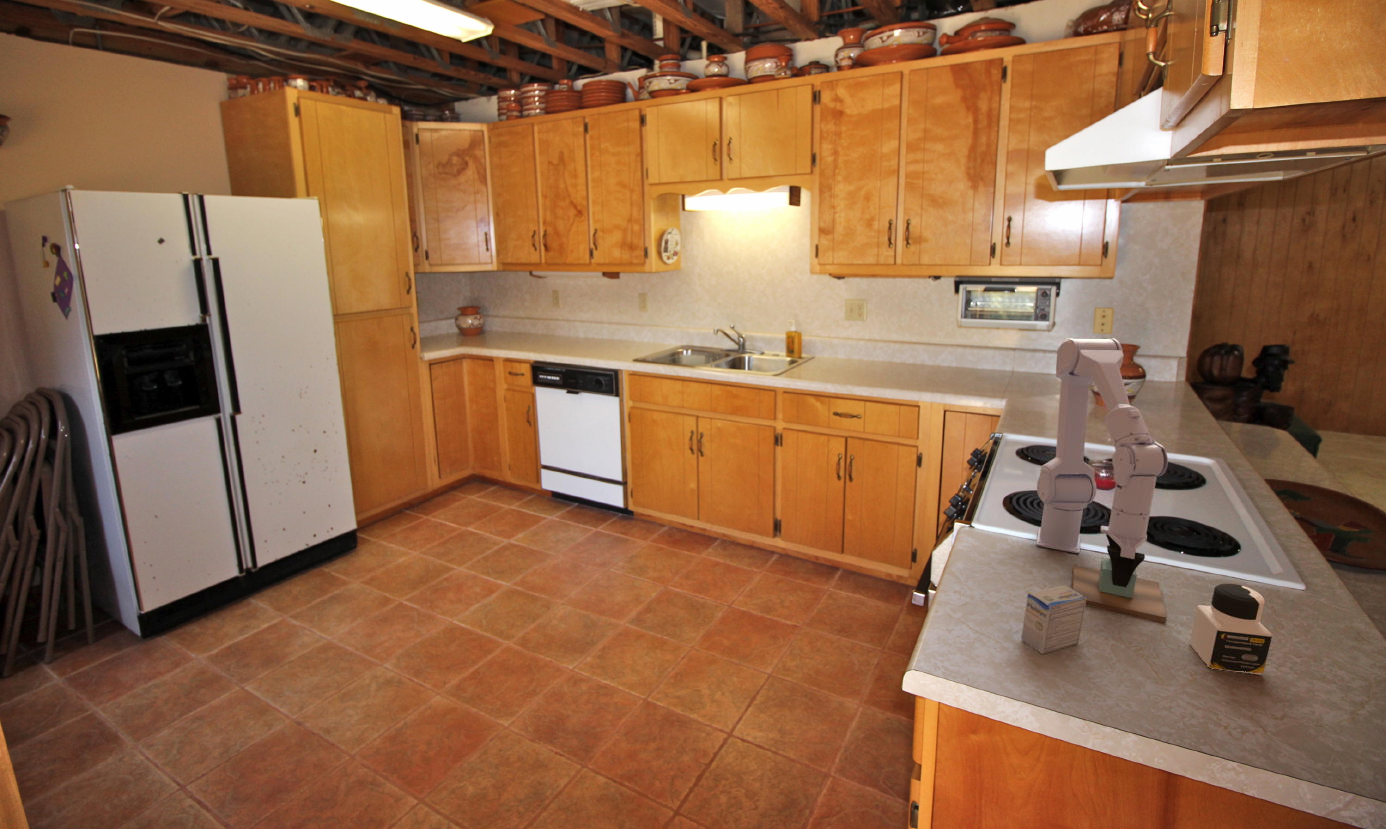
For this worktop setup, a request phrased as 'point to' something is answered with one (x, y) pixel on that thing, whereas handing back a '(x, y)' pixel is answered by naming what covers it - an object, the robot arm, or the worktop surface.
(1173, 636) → the worktop surface
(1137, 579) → the board
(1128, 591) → the sage green cube
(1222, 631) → the medicine bottle
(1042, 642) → the medicine box
